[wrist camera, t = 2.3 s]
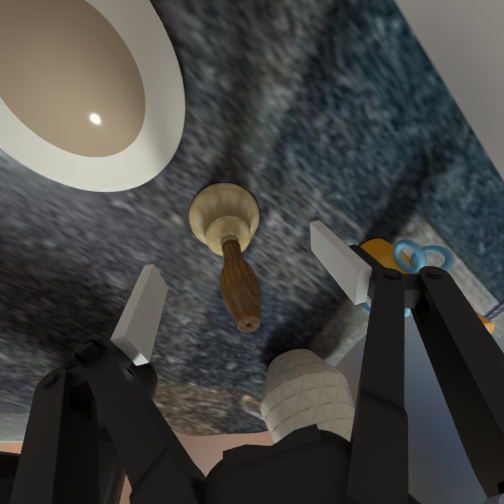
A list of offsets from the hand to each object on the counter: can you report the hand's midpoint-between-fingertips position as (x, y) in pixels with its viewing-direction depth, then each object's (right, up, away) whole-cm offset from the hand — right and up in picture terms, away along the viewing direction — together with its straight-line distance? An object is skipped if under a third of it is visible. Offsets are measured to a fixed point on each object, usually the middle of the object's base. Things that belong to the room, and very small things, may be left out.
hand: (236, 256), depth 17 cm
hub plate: (-12, +14, -1) cm, 18 cm away
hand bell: (-2, +5, +8) cm, 9 cm away
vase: (+10, -24, +28) cm, 39 cm away
